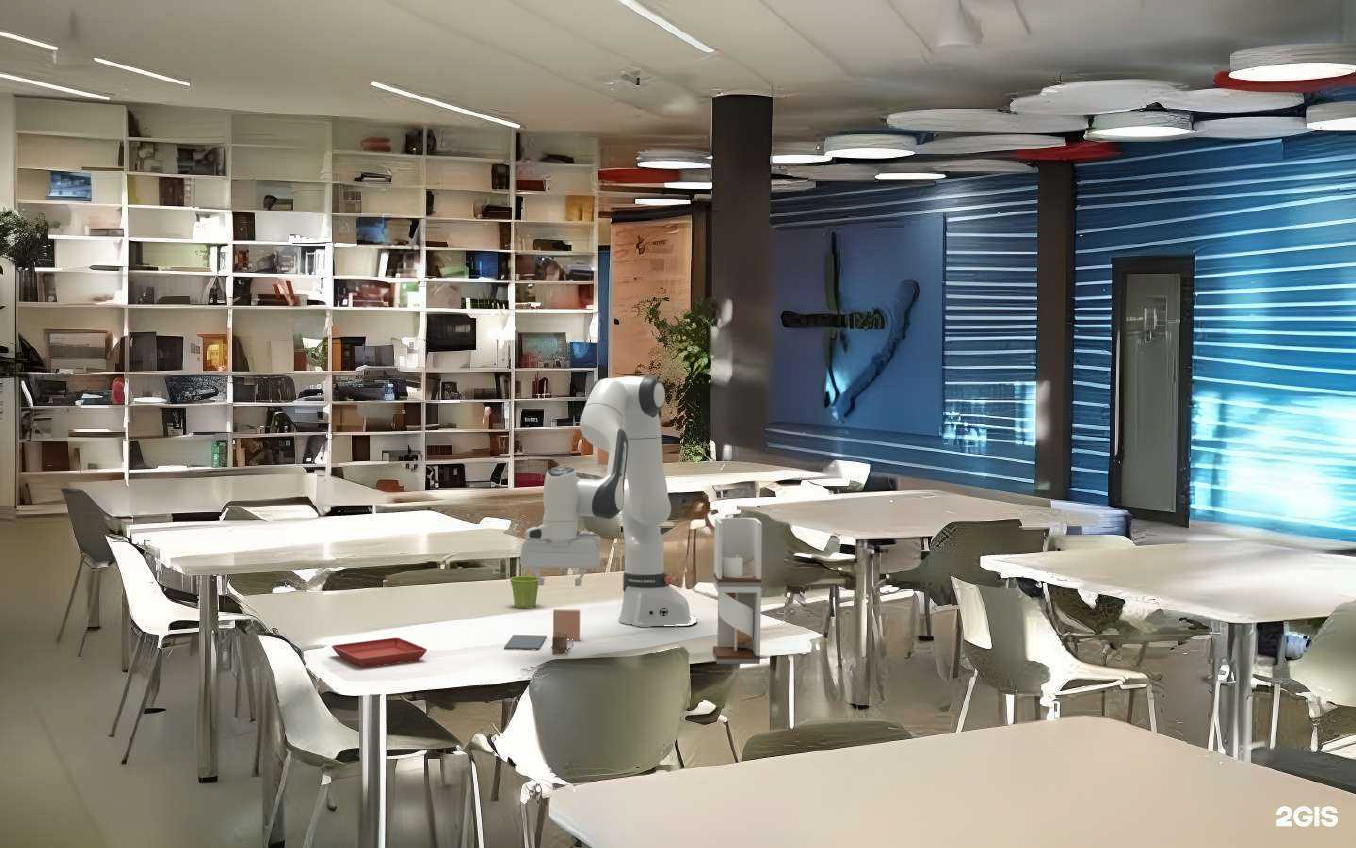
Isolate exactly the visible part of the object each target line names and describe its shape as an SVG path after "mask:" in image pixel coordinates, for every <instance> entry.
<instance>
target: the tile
mask: <svg viewBox="0 0 1356 848" xmlns="http://www.w3.org/2000/svg"><path fill="white" fill-rule="evenodd" d="M552 617H553V618H552V619H553V620H552V636H553V635H554V634H555V632H563V633H567V639H569V640H568V641H570V640H572V639H573V640H579V641H580V639H581V609H577V608H576V609H574V608H573V609H571V608H570V609H569V608H567V609H566V608H565V609H562V608H554V609H553V616H552Z"/></svg>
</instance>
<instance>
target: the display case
mask: <svg viewBox="0 0 1356 848" xmlns="http://www.w3.org/2000/svg"><path fill="white" fill-rule="evenodd" d="M713 538H714V539H713V540H714V543H713V545H714V546H713V547H714V548H713V586H714V588H715V590H716V592H717V636H716V637H717V643H716V646H715V645H712V656H713V658H714V661H715V662H716V665H746V664H747V665H760V664H761V661H760V660H761V609H762V608H761V606H762V605H761V604H762V553H763V552H762V551H763V550H762V548H763V547H762V545H763V541H762V540H763V539H762V538H763V523H762V522H761V521H760V520H759V519H758V518H757V517H714V537H713Z"/></svg>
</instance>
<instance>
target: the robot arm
mask: <svg viewBox="0 0 1356 848" xmlns="http://www.w3.org/2000/svg"><path fill="white" fill-rule="evenodd" d="M665 401H666V389H665V386H664V384H663V382H661V380H660V378H657V377H654V376H649V375H645V376H640V375H626V376H619V377H605V378H600V379H597V380H596V381H594V382H593V383H592V384H591V387H590V388H589V392H588V398H587V400H586V403H585V405H584V407H583V411H582V412H581V413H582V414H581V415H580V422H579V429H580V431H581V435H582V436H583V438H584V439H585V440H586V441H587V442H588V443H590V444H591V445H592V446H593V447H596V448H598V449H600V450H603V451H605V452H606V453H608V460H607V461H608V462H607V469H606V470H607V471H606V475H605V477H603V478H601V479H593V478H592V479H591V478H590V479H588V478H580V477H579V476H577V471H576V470H575V468H573V467H572V466H571V467H569V466H558V467H553V468H551V469H548V470H547V471H546V474H545V478H544V484H543V496H542V497H543V501H542V502H543V506H544V515H543V517H542V524H538V525H536V526H532V527H530V528H527V529H526V531H525V533H524V537H525V539H524V541H523V543H522V545H521V550H520V554H519V555H520V557H519V564H520V565H521V567H523V568H533V572H534V574H535V577H537V578H538V586H544V585H545V584H546V581H545V580H546V578H545V577H543V576H542V575H541V573H540V571H541V568H542V569H543V568H545V569H546V568H548V569H551V568H552V569H579V573H580V575H579V577H576V578H575V579H574V582H575V583H574V587H575V586H576V587H582V579H583V577H584V576H585V574H586V572H587V569H591V570H593V569H595V570H596V569H597V568H598V567H599V566H600V564H601V563H600V562H601V558H600V548H601V546H602V538H601V536H600V535H599V534H598V533H596V532H595V531H578V530H579V527H578V526H579V525H578V524H579V517H578V516H581V517H595V518H599V519H600V518H601V519H605V520H606V519H607V520H612V519H613V518H615V517H616V516H617V515H619V513H620V512H621V520H622V521H621V522H622V530H623V536H624V537H623V538H624V572H623V576H622V590H623V598H622V599H623V600H622V604H621V610H620V614H619V618H618V622H619V623H622V624H625V625H630V624H632V625H631V626H635V627H638V626H639V628H652V627H651V626H664V625H676V624H688V623H691V622H689V621H691V617H690V615H691V611H690V606H689V602H688V600H687V599H686V597H685V596H683V595H682V594H681V593H679V591H677V590H676V589H674V588H673V587H672V586H671V582H672V577H671V575H670V574H669V573H666V572H664V558H665V557H664V553H665V552H664V547H665V546H664V542H663V538H662V533H661V525H662V524H664V523H665V522H666V521H667V520H668V518H670V516H671V513H672V505H671V501H670V499H669V493H668V486H667V479H666V475H665V470H664V463H663V444H662V443H663V442H662V438H663V437H662V427H661V426H662V425H661V420H660V416H659V415H660V414H659V412H661V410H662V409H663V407H664V405H665ZM626 477H627V484H628V487H627V488H625V482H626V481H625V480H626Z"/></svg>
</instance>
